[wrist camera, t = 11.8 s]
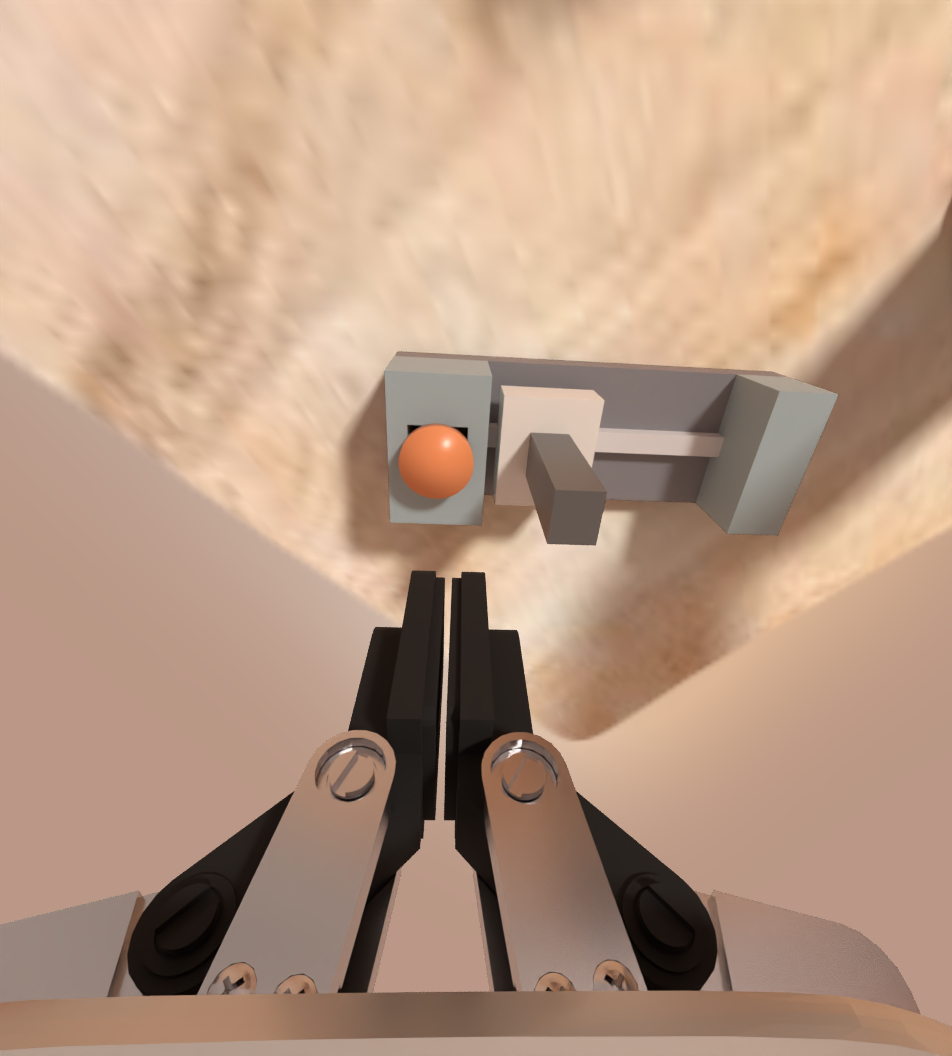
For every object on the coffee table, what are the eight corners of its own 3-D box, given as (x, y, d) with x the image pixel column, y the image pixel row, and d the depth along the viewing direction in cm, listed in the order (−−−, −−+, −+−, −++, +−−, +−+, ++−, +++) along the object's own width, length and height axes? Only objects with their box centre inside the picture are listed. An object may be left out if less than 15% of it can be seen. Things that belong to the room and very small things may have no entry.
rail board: (772, 371, 28) (838, 394, 23) (729, 494, 31) (777, 535, 27) (397, 351, 26) (384, 370, 22) (401, 481, 30) (390, 522, 25)
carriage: (593, 390, 25) (656, 448, 17) (575, 491, 28) (622, 582, 20) (500, 385, 25) (521, 442, 17) (492, 488, 28) (506, 579, 20)
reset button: (472, 402, 26) (475, 430, 22) (469, 463, 28) (471, 500, 23) (407, 399, 26) (397, 426, 21) (408, 460, 28) (399, 497, 23)
